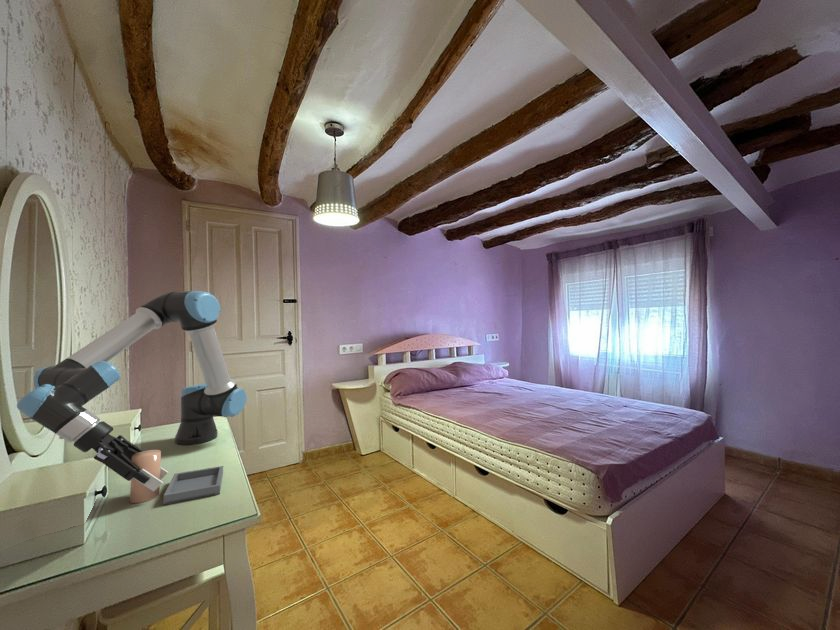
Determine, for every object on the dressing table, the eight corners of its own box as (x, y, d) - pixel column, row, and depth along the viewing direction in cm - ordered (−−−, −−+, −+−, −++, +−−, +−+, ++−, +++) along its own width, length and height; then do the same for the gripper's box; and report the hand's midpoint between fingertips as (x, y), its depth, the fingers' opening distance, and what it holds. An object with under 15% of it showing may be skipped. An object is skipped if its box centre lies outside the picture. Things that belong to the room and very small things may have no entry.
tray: (174, 481, 102) (174, 473, 103) (223, 473, 108) (223, 465, 109) (163, 505, 89) (163, 495, 89) (219, 494, 95) (219, 485, 95)
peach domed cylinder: (148, 490, 97) (150, 448, 98) (165, 493, 95) (166, 451, 96) (123, 501, 91) (125, 456, 92) (140, 504, 89) (142, 459, 90)
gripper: (88, 432, 95) (157, 478, 102) (53, 456, 78) (139, 509, 85) (113, 412, 98) (179, 458, 105) (85, 430, 81) (165, 484, 88)
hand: (161, 481), depth 95 cm, fingers closed on peach domed cylinder, 6 cm apart
